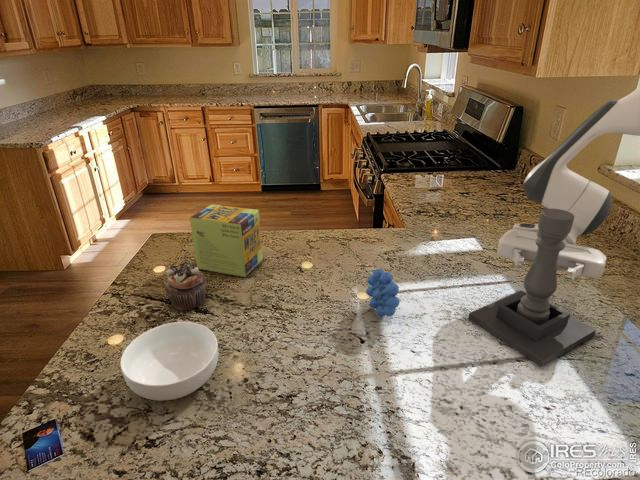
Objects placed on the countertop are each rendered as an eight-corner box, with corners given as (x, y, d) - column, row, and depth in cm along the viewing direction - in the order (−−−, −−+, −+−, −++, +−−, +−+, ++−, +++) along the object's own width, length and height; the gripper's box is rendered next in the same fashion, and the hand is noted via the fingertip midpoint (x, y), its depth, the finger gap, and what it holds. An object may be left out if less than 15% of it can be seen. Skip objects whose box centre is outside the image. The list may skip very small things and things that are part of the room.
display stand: (594, 335, 89) (600, 318, 87) (541, 366, 81) (546, 348, 79) (520, 295, 103) (523, 279, 101) (468, 318, 95) (471, 301, 93)
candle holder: (517, 309, 95) (541, 205, 85) (547, 318, 93) (576, 211, 82) (512, 324, 91) (537, 216, 80) (544, 333, 88) (575, 222, 77)
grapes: (411, 324, 93) (416, 277, 88) (385, 332, 91) (388, 285, 86) (383, 297, 103) (386, 254, 98) (359, 304, 101) (361, 260, 95)
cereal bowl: (113, 379, 80) (104, 349, 76) (193, 338, 90) (188, 310, 87) (153, 433, 69) (145, 401, 65) (239, 379, 79) (235, 349, 76)
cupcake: (217, 297, 104) (212, 261, 100) (185, 317, 97) (179, 279, 92) (191, 286, 109) (185, 251, 104) (159, 304, 102) (151, 267, 97)
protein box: (246, 278, 112) (241, 224, 105) (196, 269, 117) (188, 217, 110) (263, 259, 121) (259, 209, 114) (216, 252, 126) (210, 203, 119)
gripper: (602, 267, 92) (599, 298, 81) (503, 245, 102) (489, 270, 92) (611, 241, 89) (609, 269, 79) (508, 221, 99) (494, 244, 89)
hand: (543, 269), depth 85 cm, fingers open, 8 cm apart
